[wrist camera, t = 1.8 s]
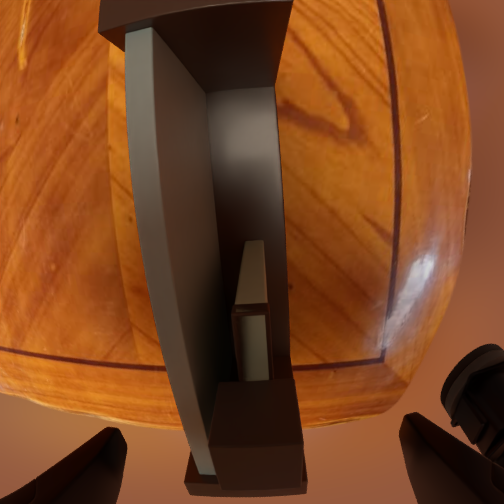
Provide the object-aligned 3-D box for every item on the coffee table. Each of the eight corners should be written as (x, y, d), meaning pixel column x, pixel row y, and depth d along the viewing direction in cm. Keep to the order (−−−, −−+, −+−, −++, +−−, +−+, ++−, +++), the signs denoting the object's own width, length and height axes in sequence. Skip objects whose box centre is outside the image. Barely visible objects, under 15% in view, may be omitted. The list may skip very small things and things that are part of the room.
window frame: (271, 73, 16) (288, -33, 5) (288, 357, 21) (306, 494, 10) (184, 82, 16) (99, -1, 6) (215, 361, 21) (189, 495, 10)
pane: (276, 238, 17) (305, 370, 6) (282, 352, 19) (299, 518, 8) (231, 241, 17) (188, 374, 6) (243, 355, 19) (230, 520, 8)
